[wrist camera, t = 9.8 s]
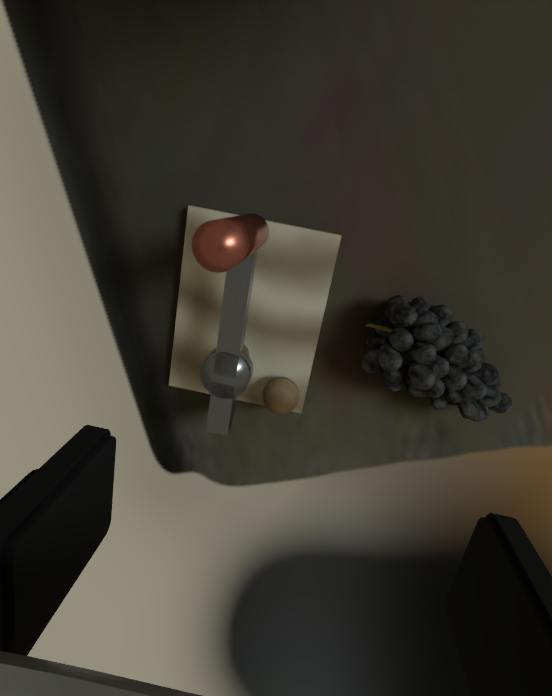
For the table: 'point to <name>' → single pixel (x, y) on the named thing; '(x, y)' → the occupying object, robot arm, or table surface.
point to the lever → (229, 309)
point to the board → (257, 307)
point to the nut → (280, 395)
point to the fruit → (434, 358)
